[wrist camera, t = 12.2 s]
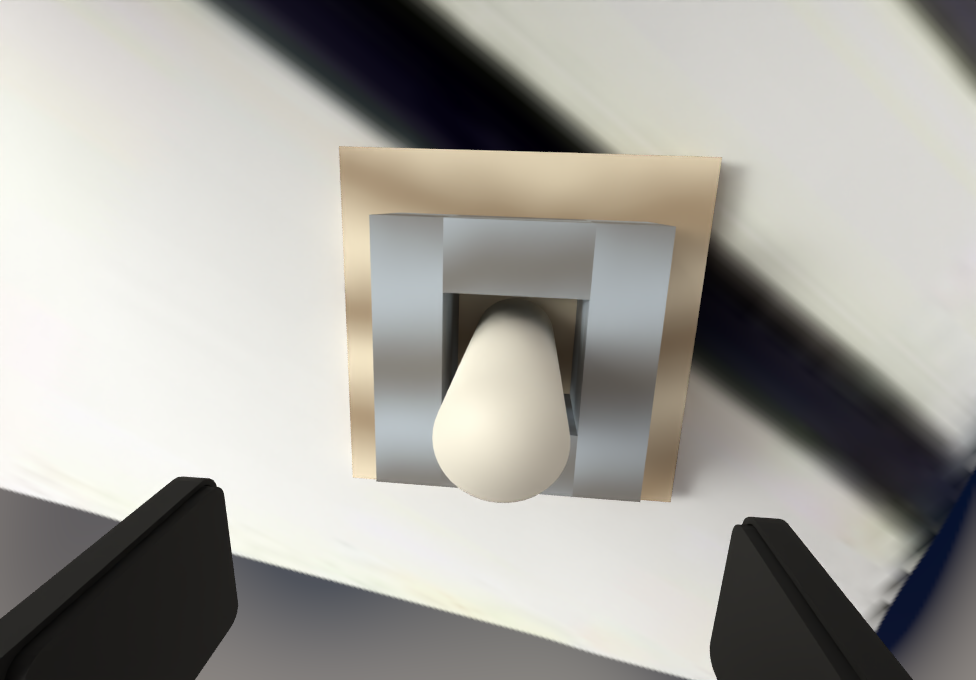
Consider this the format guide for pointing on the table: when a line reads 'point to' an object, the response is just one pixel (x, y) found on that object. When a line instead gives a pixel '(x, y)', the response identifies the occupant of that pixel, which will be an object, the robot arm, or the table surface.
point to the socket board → (526, 298)
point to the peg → (505, 408)
